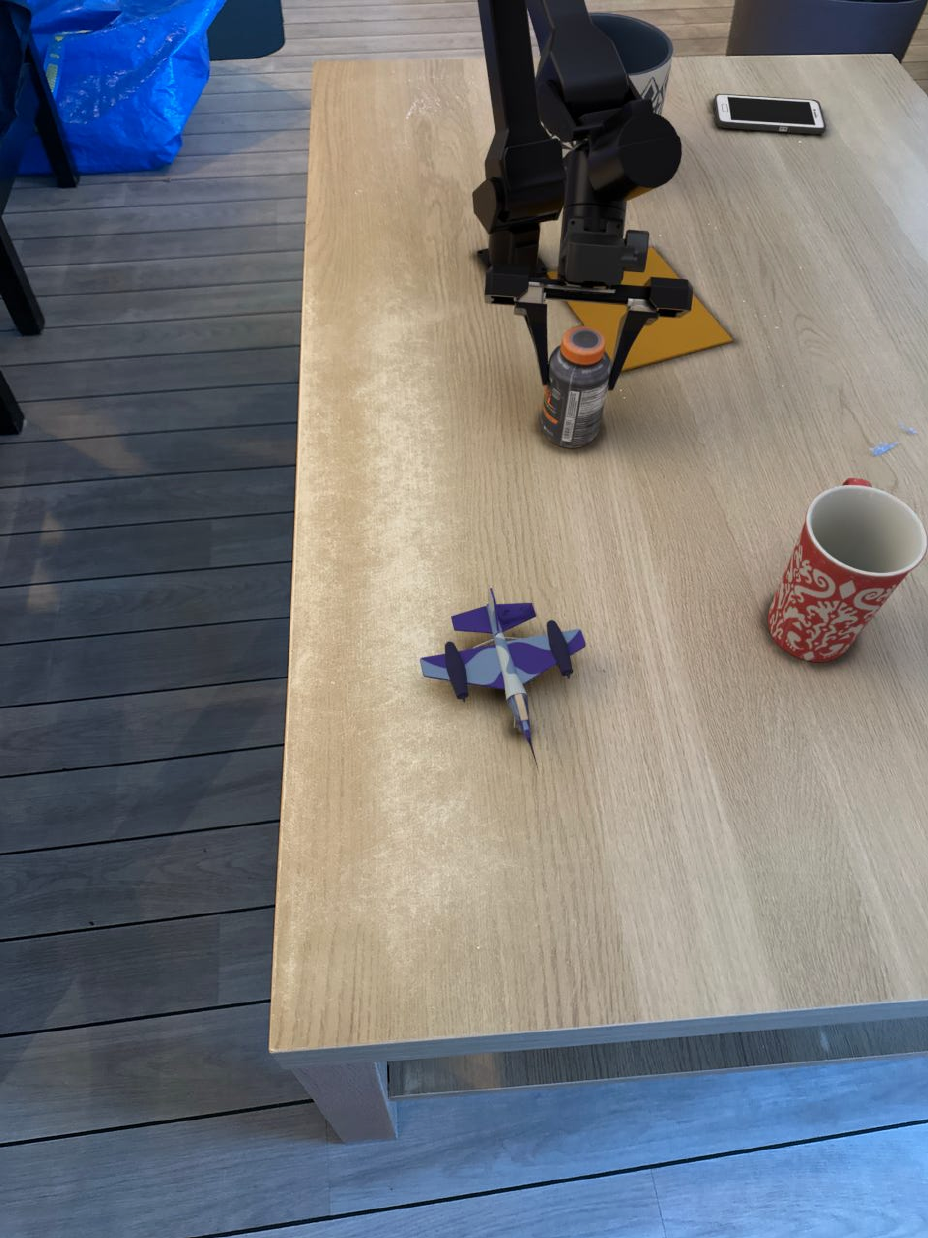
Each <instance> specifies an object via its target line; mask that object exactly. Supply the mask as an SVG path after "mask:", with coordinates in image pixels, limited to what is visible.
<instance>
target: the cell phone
mask: <svg viewBox="0 0 928 1238" xmlns="http://www.w3.org/2000/svg"><path fill="white" fill-rule="evenodd" d="M713 108H714V111H715V113H714V114H715V116H714V117H715V121H716V125H717V126H718V127H719V128H723V129H724V128H725V129H735V130H751V131H768V132H781V133H783V132H784V133H798V134H813V135H818V134H819V135H820V134H824V133H825V131H826V127H827V124H826V119H825V117H824V113H823V109H822V105H821V103H820V102H819V100H816V99H811V98H794V97H780V96H765V95H750V94H734V93H732V94H731V93H716V94H715V95H714V98H713Z"/></svg>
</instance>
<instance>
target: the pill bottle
mask: <svg viewBox="0 0 928 1238" xmlns="http://www.w3.org/2000/svg"><path fill="white" fill-rule="evenodd" d="M560 343H561V344H559V345H558V346H556V347H555V348H554V349H553V351H552V352H551V354H550V355H549V357H548V378H547V385H546V386H544V393H543V399H542V400H543V401H542V407H541V415H540V429H541V431H542V434H543V435H544V437H546V438H547V439H548V440H549V441H550V442H551V443H553V444H555V445H558V446H559V447H564V448H579V447H584V446H586V445H588V444H590V443H592V442H593V441H594V440H595V439H596V437H597V436H598V434H599V431H600V428H601V421H602V417H603V412H604V409H605V403H606V398H607V394H608V383H609V378H610V373H611V360H610V358H609V356H608V354H607V353H606V351H605V344H606V341H605V337H604V335H603V334H602V333H601V332H600V331H599V330H597V329H595V328H593V327H590V326H584V325H583V324H582V325H574V326H572V327H570V328H567V330H566V331H565V332H564V333H563V335H562V337H561V342H560Z"/></svg>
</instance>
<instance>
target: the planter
mask: <svg viewBox="0 0 928 1238" xmlns="http://www.w3.org/2000/svg"><path fill="white" fill-rule="evenodd" d="M588 14H589V16H590V18H591V21H592V23H593V25H594V26H596V27H597V28H598V29H599V30H600V31H601V32H603V33H604V34H605V35H606V36H607V37H608V38H609V39H611V40H612V42H613V43H614V46H615V48H616V50H617V53H618V55H619V57H620V60H621V62H622V65H623V67H624V69H625V72H626V73H627V74H628V76H629V78H630V79H631V81H632V82H633V84H634V86H635V87H636V89H637V91H638V92H639V94H640V96H641V97H642V98H643V99H645V98H651V99H652V104H653V110H654V113H656V114H658V115H661V116H663V110H664V105H665V100H666V94H667V89H668V83H669V79H670V73H671V68H672V64H673V63H672V62H673V57H674V51H675V50H674V46H673V42H672V40H671V39H670V37H669V36H668V35H667V34H666V33H665V32H664V31H663V30H661V28H659V27H657V26H655V25H654V24H652V23H649V22H648V21H645V20H643V19H640V18H637V17H633V16H629V15H624V14H619V13H611V12H588ZM540 58H541V56H540V51H539V50H538V56H537V67H536V68H537V69H536V70H538V66H539V62H540ZM541 124H542V125H543V123H542V122H541ZM543 127H544V128H545V129H546V127H545V126H544V125H543ZM546 131H547V132H548V130H547V129H546ZM548 133H549V132H548ZM549 135H550V136H551V138H552V139H553V138H558V137H557V136H555V135H554V134H552V135H551V134H550V133H549ZM558 139H559V138H558ZM585 140H589V139H585ZM559 141H560V143H561V145H562V152H563V160H564V158H565V156H566V154H567V153H568V152H569V151H570V150H571V149H572V148H573V147H574V146H575V144H576V142H577V141H573V142H567V143H563V142H562V141H561V140H560V139H559ZM564 170H565V172H566V173H567V168H565V167H564Z"/></svg>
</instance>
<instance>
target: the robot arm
mask: <svg viewBox="0 0 928 1238" xmlns="http://www.w3.org/2000/svg"><path fill="white" fill-rule="evenodd" d="M477 7H478V17H479V23H480V30H481V37H482V44H483V51H484V58H485V66H486V73H487V81H488V89H489V96H490V102H491V110H492V116H493V117H492V118H493V125H494V135H493V137H492V141H491V143H490V145H489V149H488V152H487V154H486V156H485V158H484V159H485V160H484V171H485V172H484V174H485V180H484V181H482V183H480V184H479V186H477V187H476V188H475V189H474V190H473V191H472V193H471V196H472V209H473V214H474V215H475V216H476V218H477V219H478V221H479V222H480V224H481V225H482V228H483V229H484V230H485V231H486V233H487V234H488V248H483V249H479V250H477V251H476V257H477V259H478V260H479V262H480V263H481V264H482V266H483V267H484V269H485V270H486V272H485V281H484V282H485V284H484V285H485V286H484V304H489V305H497V306H508V307H509V306H512V307H513V316H517V317H523V318H524V321H525V324H526V327H527V329H528V332H529V335H530V338H531V341H532V345H533V349H534V354H535V357H536V362H537V367H538V372H539V376H540V381H541V385H542V386H544V387H545V386H546V385H547V378H548V362H549V340H548V303H546V300H547V301H563V302H566V301H573V302H586V303H599V304H612V305H625V310H626V313H625V314H624V315H623V316H622V317H621V318H620V323H619V327H618V332H617V337H616V342H615V347H614V352H613V357H612V362H611V373H610V378H609V383H608V389H607V392H612V391H614V389H615V386H616V384H617V382H618V380H619V377H620V375H621V373H622V372H621V370H622V368H623V365H624V363H625V361H626V358H627V356H628V354H629V351H630V349H631V347H632V345H633V343H634V341H635V340H636V338H637V336H638V334H639V333H640V331H641V330H642V328H643V326H644V325H645V326H648V325H651V324H653V323H654V322H656V321H657V320H658V319H659V317H664V318H681V317H683V316H684V315H686V314H687V313H689V312H690V311H691V308H692V300H693V295H694V286H693V284H691V282H690V280H689V279H688V278H679V279H676V278H663V277H650V278H649V279H648V280H647V281H646V282H645V283H644V285H643V286H637V285H624V284H621V282H622V280H623V276H624V271H629V272H642V273H643V272H644V271H645V267H646V261H647V254H648V248H649V244H650V243H649V242H650V232H649V231H648V230H639V229H626V231H625V226H626V225H625V224H626V215H627V206H628V202H629V201H632V200H633V199H636V198H638V197H641V196H643V195H645V194H646V193H647V194H648V193H649V192H651V191H653V190H655V189H657V188H660V187H662V186H664V185H666V184H668V182H669V181H671V180H673V178H674V176H675V175H676V173H678V170H679V167H680V165H681V162H682V161H681V160H682V154H683V145H682V139H681V137H680V136H679V135H678V132H677V131H676V128H675V127H674V126H673V124H672V123H671V122H670V121H669V120H668V119H667V118H665V117H664V116H663V115H658V114H656V113H654V110H653V104H652V99H651V98H645V99H643V98H642V97H641V96H640V94H639V92H638V91H637V89H636V87H635V86H634V84H633V82H632V81H631V79H630V78H629V76H628V74H627V73H626V72H625V69H624V67H623V65H622V62H621V60H620V57H619V55H618V53H617V50H616V48H615V46H614V43H613V42H612V40H611V39H609V38H608V37H607V36H606V35H605V34H604V33H603V32H601V31H600V30H599V29H598V28H597V27H596V26H594V25H593V23H592V21H591V18H590V16H589V14H588V13H589V10H588V8H587V4H586V1H585V0H477ZM529 19H530V22H529ZM530 23H531V26H532V28H533V32H534V36H535V39H536V41H537V47H538V52H539V51H540V56H541V58H540V62H539V66H538V65H537V67H538V70H537V69H536V70H537V71H536V72H535V64H534V54H533V46H532V45H533V44H532V38H531V29H530ZM541 122H542V123H543V125H544V126H545V127H546V129H547V130H548V132H549V133H550V134H551V135H552V134H554V135H555V136H557V137H558V138H559V139H560V140H561V141H562V142H563V143H567V142H573V141H577V142H576V144H575V146H574V147H573V148H572V149H571V150H570V151H569V152H568V153H567V154H566V156H565V158H564V160H563V152H562V145H561V143H560V141H559V139H558V138H553V139H552V138H551V136H550V135H549V133H548V132H547V131H546V129H545V128H544V127H543V125H542V124H541ZM585 139H589V140H585ZM564 167H565V168H567V173H566V172H565V170H564ZM561 213H562V218H561V226H560V227H561V228H560V238H559V239H560V240H559V250H558V261H557V270H558V271H557V279H549V278H544V277H542V276H547V275H546V274H547V273H548V272H549V269H548V267H547V266H546V264H545V263H544V261H542V259H541V257H540V256H539V252H540V251H539V250H540V239H541V238H540V237H541V225H542V223H547V222H551V221H553V222H555V221H559V219H560V216H561ZM624 235H625V236H624Z"/></svg>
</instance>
